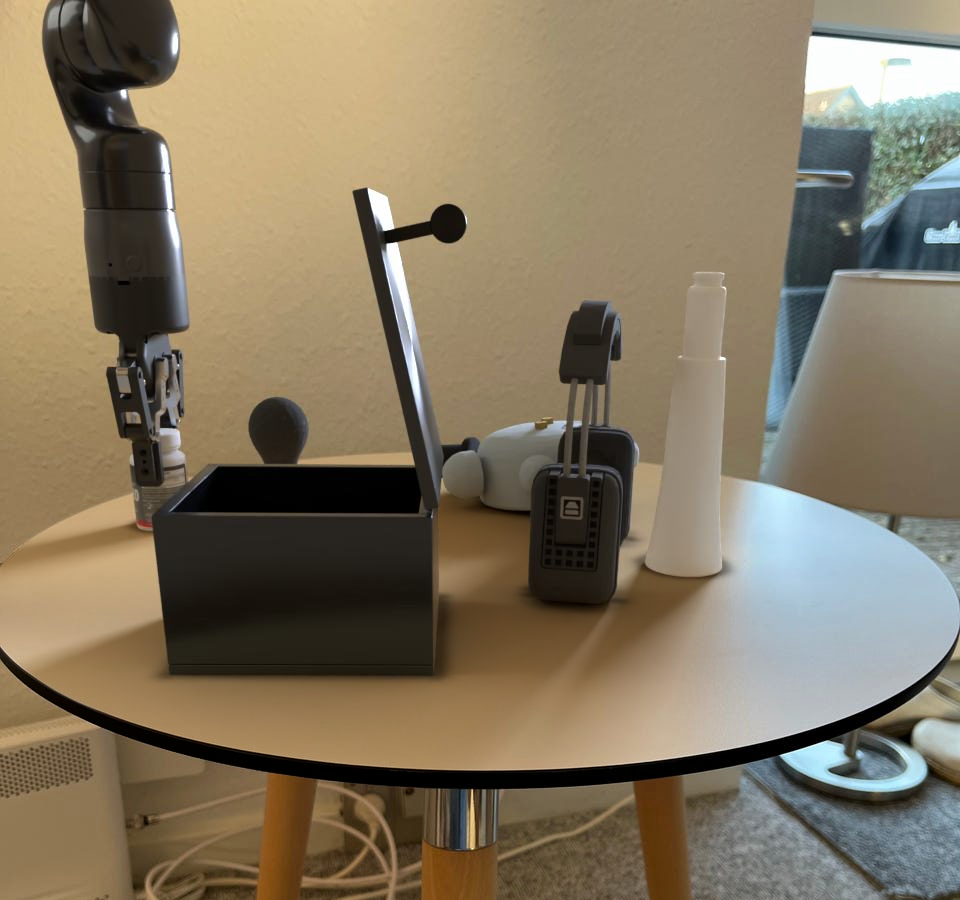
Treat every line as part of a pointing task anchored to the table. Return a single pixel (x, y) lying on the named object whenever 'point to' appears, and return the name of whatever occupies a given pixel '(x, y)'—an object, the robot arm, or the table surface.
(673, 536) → the cosmetic bottle
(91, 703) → the table surface
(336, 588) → the dark grey open box
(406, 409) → the dark grey box lid
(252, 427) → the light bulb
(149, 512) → the pill bottle
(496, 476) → the figurine
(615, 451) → the headphones
